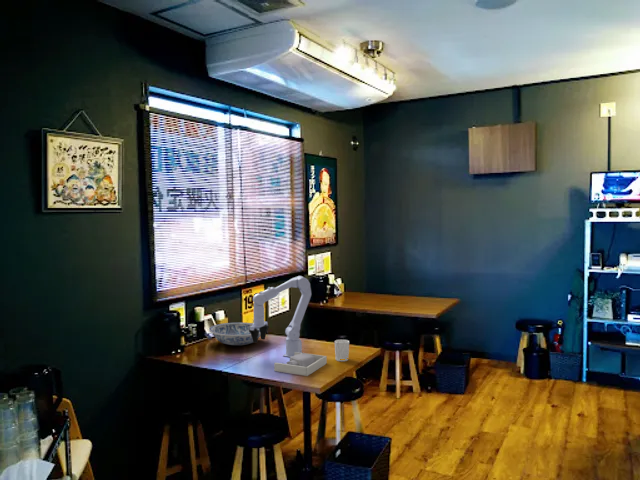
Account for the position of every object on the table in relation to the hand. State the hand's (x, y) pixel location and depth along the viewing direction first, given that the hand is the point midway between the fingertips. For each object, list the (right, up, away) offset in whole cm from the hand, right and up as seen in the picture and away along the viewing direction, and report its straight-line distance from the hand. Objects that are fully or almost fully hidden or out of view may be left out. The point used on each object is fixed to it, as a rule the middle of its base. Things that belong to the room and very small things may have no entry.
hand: (259, 340), depth 264 cm
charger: (+22, -10, -14) cm, 28 cm away
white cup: (+45, -10, -3) cm, 46 cm away
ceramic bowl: (-17, -8, +31) cm, 36 cm away
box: (+23, -10, -16) cm, 30 cm away
